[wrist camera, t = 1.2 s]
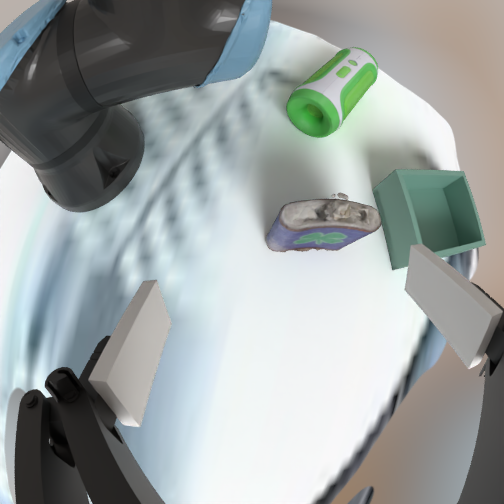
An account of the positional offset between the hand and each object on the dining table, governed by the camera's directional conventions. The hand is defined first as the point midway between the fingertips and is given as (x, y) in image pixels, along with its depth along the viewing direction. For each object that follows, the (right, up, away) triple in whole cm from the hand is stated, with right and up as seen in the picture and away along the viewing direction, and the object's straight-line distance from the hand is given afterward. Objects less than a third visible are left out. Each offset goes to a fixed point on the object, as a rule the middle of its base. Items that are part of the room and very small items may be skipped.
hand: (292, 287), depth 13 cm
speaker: (+10, +24, +22) cm, 33 cm away
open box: (+21, +5, +18) cm, 28 cm away
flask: (+4, +3, +17) cm, 18 cm away
